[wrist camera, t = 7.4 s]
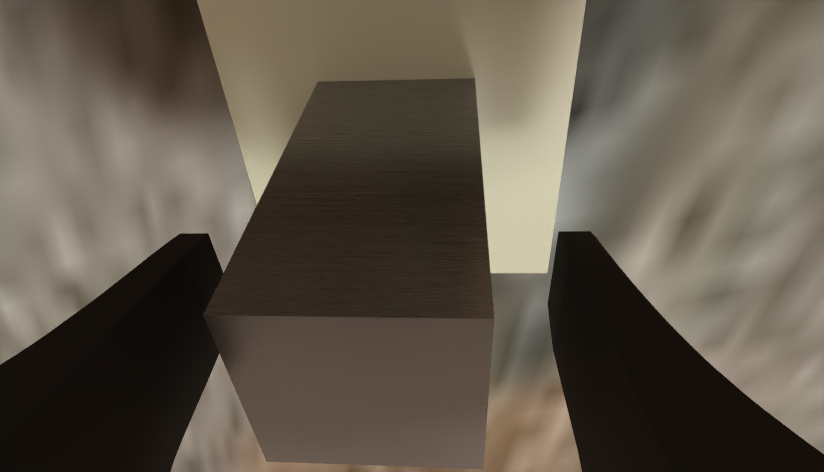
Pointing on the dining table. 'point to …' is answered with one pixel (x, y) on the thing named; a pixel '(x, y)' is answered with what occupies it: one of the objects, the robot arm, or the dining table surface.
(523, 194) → the pad
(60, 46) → the dining table surface
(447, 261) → the square peg
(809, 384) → the dining table surface
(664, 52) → the dining table surface
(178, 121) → the dining table surface
